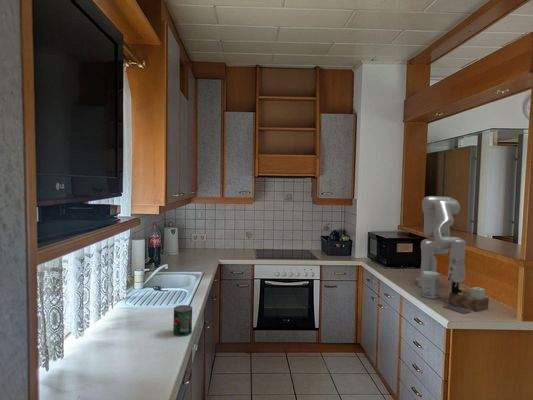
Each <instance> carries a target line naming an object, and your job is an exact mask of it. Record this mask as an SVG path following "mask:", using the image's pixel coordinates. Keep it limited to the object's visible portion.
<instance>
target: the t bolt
mask: <svg viewBox="0 0 533 400" xmlns="http://www.w3.org/2000/svg"><path fill="white" fill-rule="evenodd" d="M450 289H451V290H452V286H451V288H450ZM451 290H450V291H451ZM465 291H466V290H465V287H462V286H461V287H460V286H459V291H458V295H462V296H464V295H465Z"/></svg>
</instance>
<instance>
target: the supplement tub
mask: <svg viewBox="0 0 533 400" xmlns="http://www.w3.org/2000/svg"><path fill="white" fill-rule="evenodd" d="M439 294H440V273H439V272H437V271H436V272H433V271H424V272H423V275H422V287H421V296H422V297H423V298H426V299H432V300H433V299H438V298H439V296H440V295H439Z"/></svg>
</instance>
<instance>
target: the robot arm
mask: <svg viewBox="0 0 533 400" xmlns="http://www.w3.org/2000/svg"><path fill="white" fill-rule="evenodd" d="M421 208H422V212H423V234H424V236H426V237H429V238H425V239H423V240H421V242H420V251H421V253H420V254H421V256H420V257H421V261H420V263H421V264H420V273H419V274H420V277H418V276H417V277H416V278H415V281H417V286H418V287H420V288H422V275H423V272H424V271H433V272H437V268H438V267H437V264H438V261H437V258H436V256H435V255H436V254H437V255H446V254H448V253H449V264H448V271H447V281H448V284H450V286H451V287H452V290H450V293H454V294H458V291H459V288H460V285H461V283H462V282H465V281H466V265H465V259H466V258H465V257H466V245H467V244H466V243H467V242H466V241H465V240H464V239H462V238H461V237H458V236H451V231H450V230H451V229H450V227H451V226H452V225H454V222H455V220H454V217H453V216H454V215H457V214H458V213H459V212H460V210H461V205H460V203H459V201H458V200H457V199H454V198H453V197H449V196H437V195H436V196H434V195H429V196H425V197H423V199H422V201H421ZM453 214H454V215H453Z"/></svg>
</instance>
